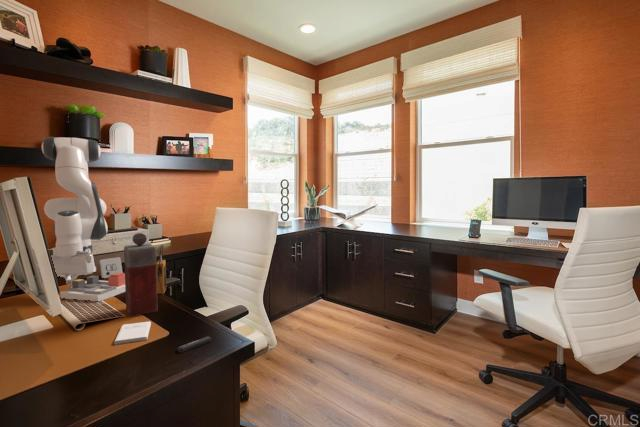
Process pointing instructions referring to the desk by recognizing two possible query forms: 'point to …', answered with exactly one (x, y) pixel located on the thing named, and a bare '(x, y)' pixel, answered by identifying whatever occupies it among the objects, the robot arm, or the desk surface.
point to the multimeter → (161, 274)
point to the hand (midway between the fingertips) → (71, 284)
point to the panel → (93, 292)
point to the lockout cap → (116, 279)
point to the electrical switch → (110, 266)
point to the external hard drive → (133, 332)
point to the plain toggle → (92, 279)
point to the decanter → (140, 277)
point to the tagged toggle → (78, 283)
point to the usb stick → (194, 344)
